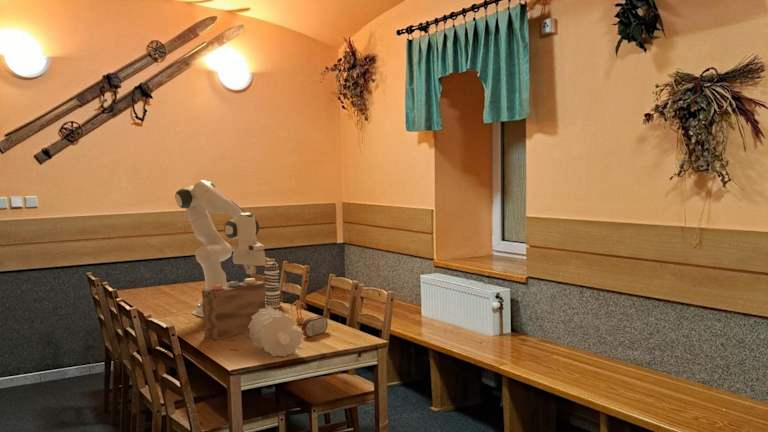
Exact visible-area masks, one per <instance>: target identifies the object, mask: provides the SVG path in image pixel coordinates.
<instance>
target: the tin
mask: <svg viewBox="0 0 768 432" xmlns="http://www.w3.org/2000/svg"><path fill="white" fill-rule="evenodd" d="M327 329H328V320H327V318H326V316H325V317H324V316H322V315H316V316H313V317H309V318H307V319H304V322H303V323H302V324H301V331H303V335H302V336H304V337H307V338H312V337H315V336H319V335H322V334H324V333H326V331H327Z"/></svg>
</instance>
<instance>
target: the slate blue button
mask: <svg viewBox="0 0 768 432" xmlns="http://www.w3.org/2000/svg"><path fill="white" fill-rule="evenodd" d="M239 283H240V281H237V280H234V281H229V282H228V285H229V287H230V288H235V287H239Z"/></svg>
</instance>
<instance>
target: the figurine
mask: <svg viewBox="0 0 768 432" xmlns="http://www.w3.org/2000/svg"><path fill="white" fill-rule="evenodd" d="M301 304H302V305H303V306H304V307H305V309H307V308H308V307H307V306H306V304H305V303H304V302H301V301H300V300H299V299H297V300H296V301H294V302H293V303H292V304H291V306H290V311H292V309H293V306H294V305H296V306H295V311H296V315H297V317H296V318H295V323H296V324H298V325H302V324H303V322H304V321H305V318H304V317H303V316H302V311H303V310H302V306H300V305H301Z"/></svg>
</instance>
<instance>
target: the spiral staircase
mask: <svg viewBox="0 0 768 432" xmlns="http://www.w3.org/2000/svg"><path fill="white" fill-rule="evenodd" d="M251 317H252V321H251V322H250V324H249V326H248V328H250V331H249V338H250V339H251V340H252V343H253V344H254V343H256V345H257V347H258V348H263V350H264V352H265V353H266V352H267V353H269V354H270V355H271V356H273V357H274V358H275V357H277V356H279V357H284V358H285V357H287V355H290V354H292V353H295V352H297V348H299V346H300V345H301V344H302V343H303V341H302V339H303V336H304V335H303V331H302V330H300V329H298V328H295V326H296V325H297V323H296V321H295V320H294V318H293V316H290V315H289V314H285V313H283V312H282V310H279V308H276V309H275V308H271V307H268V308H266V309H259V312H258V313H256V314H255V315H253V316H251Z"/></svg>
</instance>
